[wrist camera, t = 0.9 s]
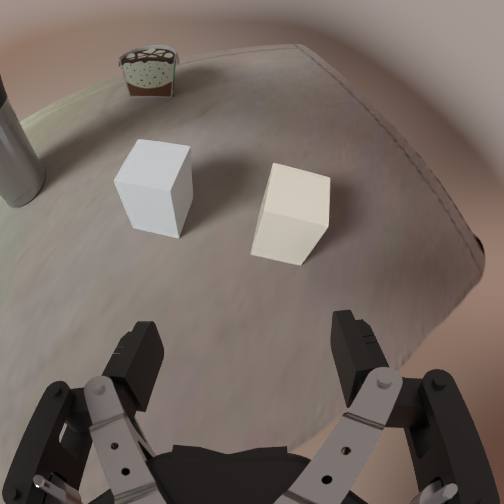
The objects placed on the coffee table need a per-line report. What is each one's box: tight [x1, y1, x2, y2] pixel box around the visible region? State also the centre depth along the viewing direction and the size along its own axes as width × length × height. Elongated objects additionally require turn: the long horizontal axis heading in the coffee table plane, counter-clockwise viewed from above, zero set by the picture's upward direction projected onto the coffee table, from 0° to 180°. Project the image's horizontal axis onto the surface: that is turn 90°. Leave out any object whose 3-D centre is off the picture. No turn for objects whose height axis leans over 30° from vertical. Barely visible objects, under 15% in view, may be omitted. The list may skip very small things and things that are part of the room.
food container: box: [118, 45, 179, 98], centre depth 45 cm, size 12×6×10 cm, turn 84°
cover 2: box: [251, 163, 330, 266], centre depth 33 cm, size 7×7×10 cm
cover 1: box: [114, 139, 193, 238], centre depth 33 cm, size 7×7×10 cm
